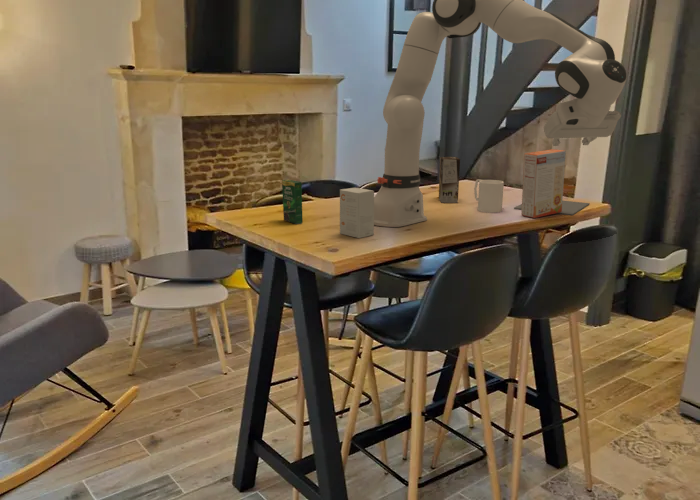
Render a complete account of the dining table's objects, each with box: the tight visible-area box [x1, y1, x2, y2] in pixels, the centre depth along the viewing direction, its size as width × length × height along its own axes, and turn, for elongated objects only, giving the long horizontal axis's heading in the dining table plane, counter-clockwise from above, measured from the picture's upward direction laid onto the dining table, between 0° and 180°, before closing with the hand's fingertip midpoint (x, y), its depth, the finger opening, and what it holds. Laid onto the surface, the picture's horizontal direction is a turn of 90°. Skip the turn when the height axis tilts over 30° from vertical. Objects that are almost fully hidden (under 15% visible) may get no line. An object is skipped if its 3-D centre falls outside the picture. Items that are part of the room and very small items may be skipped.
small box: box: [339, 187, 375, 239], centre depth 177 cm, size 8×6×13 cm
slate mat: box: [513, 199, 591, 216], centre depth 221 cm, size 24×20×1 cm
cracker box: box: [521, 148, 567, 219], centre depth 203 cm, size 14×6×21 cm, turn 123°
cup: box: [473, 178, 505, 214], centre depth 214 cm, size 8×12×10 cm
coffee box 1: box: [281, 179, 304, 225], centre depth 193 cm, size 8×3×13 cm, turn 35°
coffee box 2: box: [438, 156, 461, 204], centre depth 230 cm, size 9×6×16 cm
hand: (569, 143), depth 185 cm, fingers open, 8 cm apart
